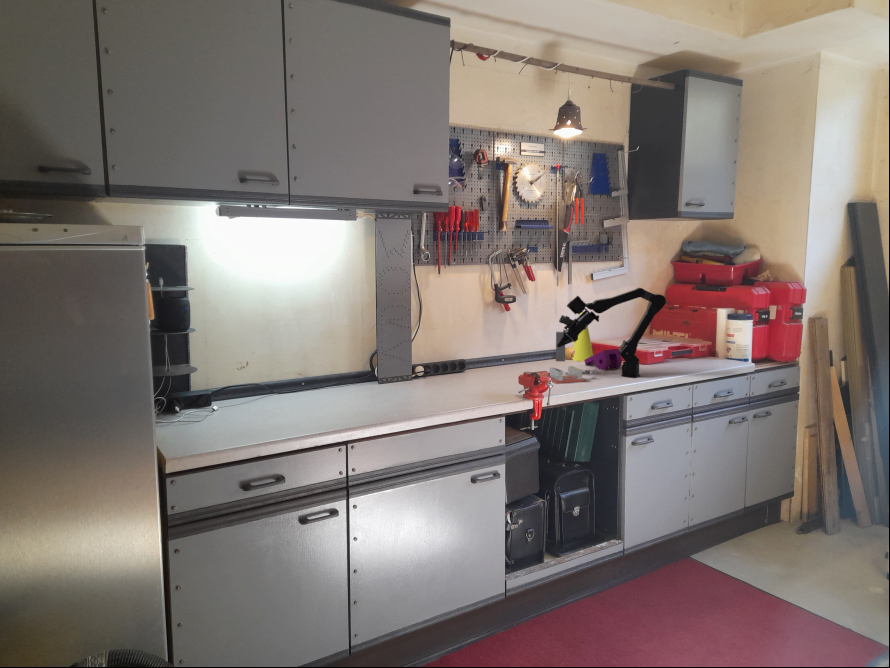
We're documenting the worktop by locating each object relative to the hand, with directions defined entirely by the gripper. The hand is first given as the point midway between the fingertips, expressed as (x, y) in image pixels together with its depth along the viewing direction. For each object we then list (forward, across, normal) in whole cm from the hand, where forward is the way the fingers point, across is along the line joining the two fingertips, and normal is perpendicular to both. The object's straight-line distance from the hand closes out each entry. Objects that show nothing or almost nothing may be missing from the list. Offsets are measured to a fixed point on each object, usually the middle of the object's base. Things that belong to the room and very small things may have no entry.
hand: (557, 345), depth 266 cm
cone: (0, -42, +19) cm, 46 cm away
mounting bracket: (-5, -22, +25) cm, 33 cm away
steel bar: (+4, 0, +6) cm, 7 cm away
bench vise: (+5, +12, +13) cm, 19 cm away
